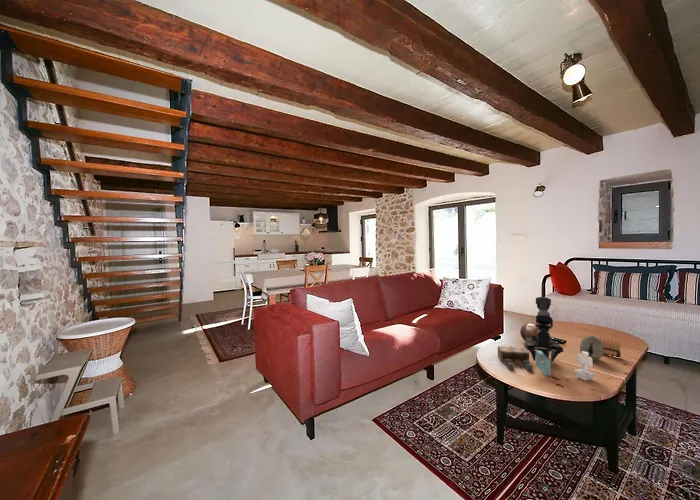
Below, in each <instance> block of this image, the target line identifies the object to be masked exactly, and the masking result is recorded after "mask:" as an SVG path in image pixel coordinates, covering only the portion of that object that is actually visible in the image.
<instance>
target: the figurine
mask: <svg viewBox="0 0 700 500" xmlns="http://www.w3.org/2000/svg"><path fill="white" fill-rule="evenodd" d="M588 355H589V353H588V352H585V351H582V353H577V357H576V358H577V359H576V361H577V363H578V365H579V364H580V365H581V368H576V369H573V370H572V371H573V372H574V373H575V375H576V377H577V378H578V379H580V380H582V381H585V382H587V381H586V380H588V381H591V379H592V380H593V378H595V376H596V375H597V373H595V372H593V371H590V370H589V367H590V368H593V365H594V364H593V363H594V362H593V361H594V360H592V358H591V357H588Z"/></svg>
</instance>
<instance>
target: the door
mask: <svg viewBox="0 0 700 500" xmlns="http://www.w3.org/2000/svg"><path fill="white" fill-rule="evenodd" d="M535 350H536V349H535ZM551 363H552V362H551V358H550V357H549V358H548V357H547V356H546V355H545V354H544V353H543V352H542V351H538V350H536V356H535V365H536V366H537V367H538V369H539V370H540V371H541V372H542V373H543V374H544V375H545V376H548V377H549V376H551V368H552V367H551V365H552V364H551Z"/></svg>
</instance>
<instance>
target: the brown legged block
mask: <svg viewBox="0 0 700 500" xmlns="http://www.w3.org/2000/svg"><path fill="white" fill-rule="evenodd" d="M497 359H498V360H499V361H500V362H501V363H504V365H505V366H506V369H507V370H512V371H513V370H514V369H515V368H514V367H515V364H521V365H522V367H523V368H524V369H525V370H526V371H527V372H533V369H534V367H533V364H530V351H529V350H527V349H526V348H525V347H519V346H517V347H514V346H501V345H498V346H497Z"/></svg>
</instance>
